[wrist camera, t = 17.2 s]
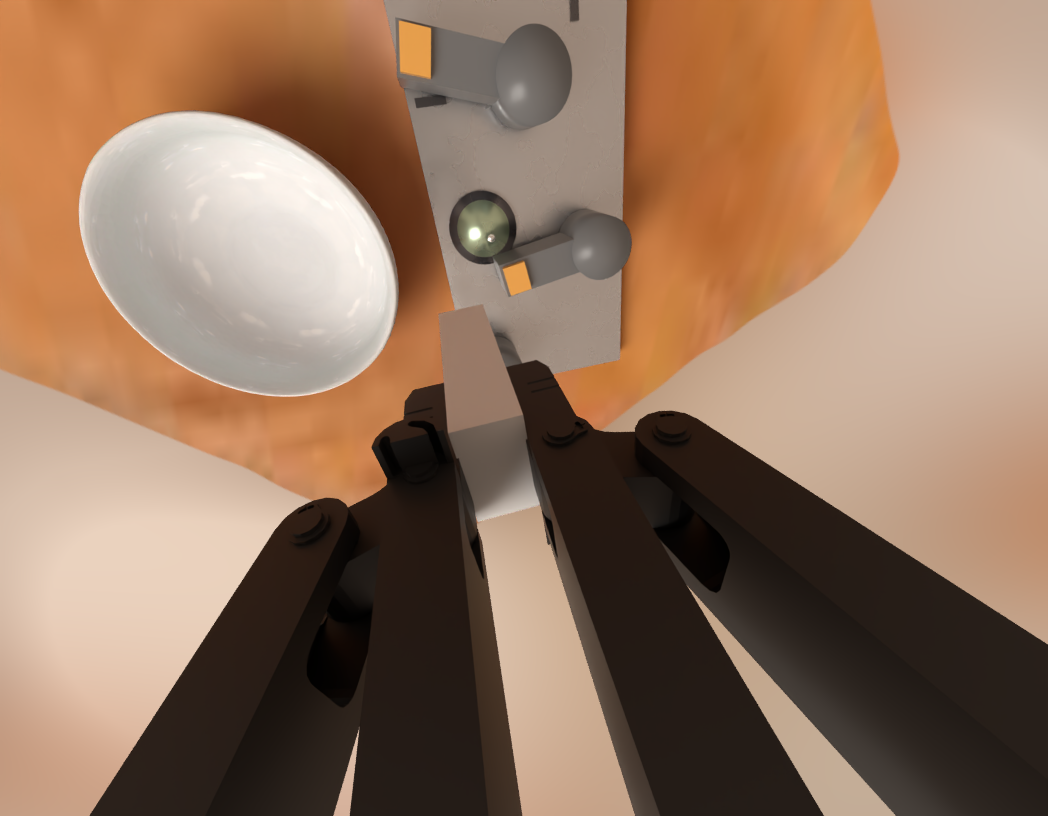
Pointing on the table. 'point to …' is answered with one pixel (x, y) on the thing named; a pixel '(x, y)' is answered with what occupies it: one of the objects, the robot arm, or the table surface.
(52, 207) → the table surface
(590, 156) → the level plate
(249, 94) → the table surface
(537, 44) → the knob
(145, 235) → the cereal bowl
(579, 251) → the knob
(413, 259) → the table surface
